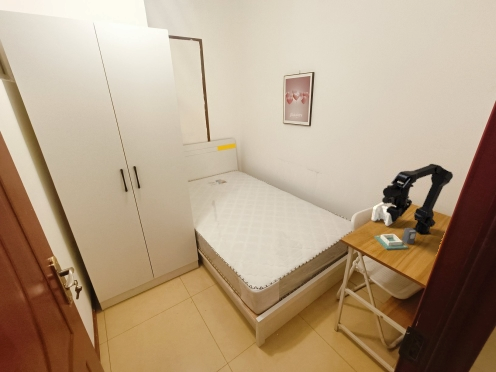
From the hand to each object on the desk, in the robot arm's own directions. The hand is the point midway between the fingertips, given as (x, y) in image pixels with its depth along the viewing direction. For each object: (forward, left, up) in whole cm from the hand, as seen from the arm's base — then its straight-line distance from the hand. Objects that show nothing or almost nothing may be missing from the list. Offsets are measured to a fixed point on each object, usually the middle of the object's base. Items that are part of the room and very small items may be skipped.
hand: (396, 219), depth 126 cm
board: (+4, +4, -13) cm, 14 cm away
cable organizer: (-6, -19, -13) cm, 23 cm away
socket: (+4, +4, -13) cm, 14 cm away
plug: (-6, +4, -13) cm, 15 cm away
